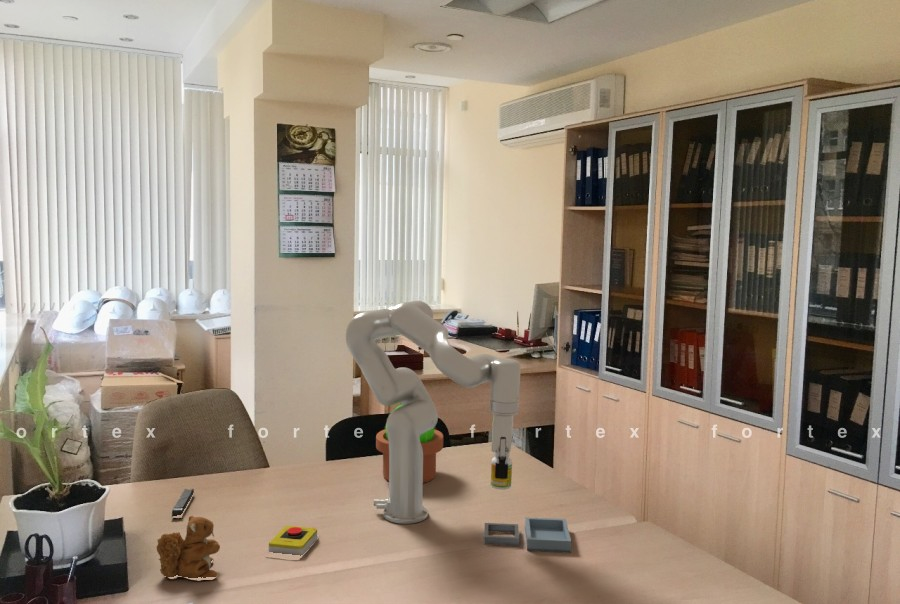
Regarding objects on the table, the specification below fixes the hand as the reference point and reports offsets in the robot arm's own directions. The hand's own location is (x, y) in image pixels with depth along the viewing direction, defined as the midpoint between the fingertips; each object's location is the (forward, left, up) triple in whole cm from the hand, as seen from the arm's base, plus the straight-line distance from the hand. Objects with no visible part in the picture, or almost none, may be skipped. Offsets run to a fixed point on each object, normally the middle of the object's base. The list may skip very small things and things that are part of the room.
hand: (501, 473), depth 188 cm
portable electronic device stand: (-91, +11, -18) cm, 93 cm away
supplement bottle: (0, 0, -4) cm, 4 cm away
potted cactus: (-30, +45, -18) cm, 56 cm away
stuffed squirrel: (-72, -28, -18) cm, 79 cm away
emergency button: (-52, -11, -18) cm, 57 cm away
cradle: (0, 0, -17) cm, 17 cm away
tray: (+12, 0, -17) cm, 21 cm away
